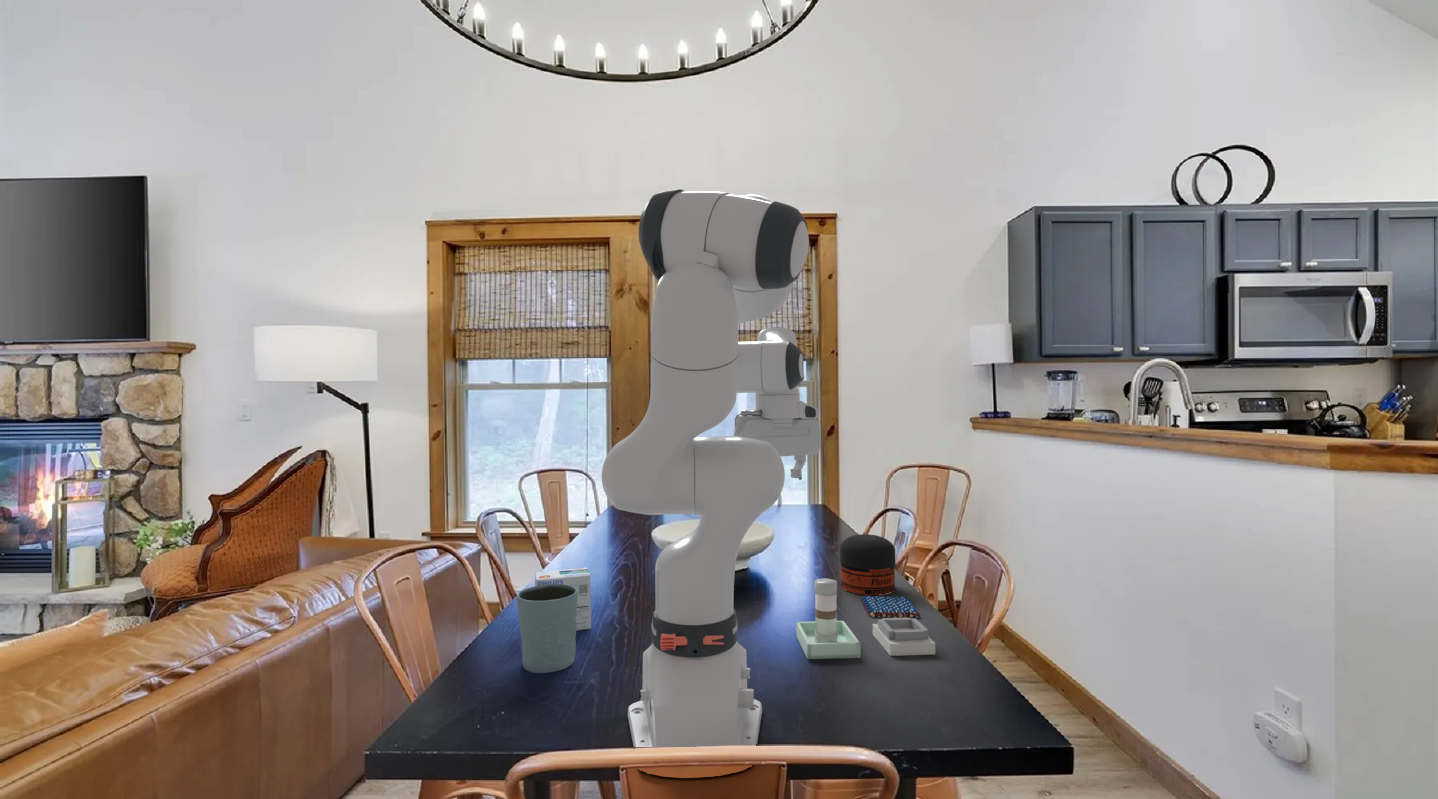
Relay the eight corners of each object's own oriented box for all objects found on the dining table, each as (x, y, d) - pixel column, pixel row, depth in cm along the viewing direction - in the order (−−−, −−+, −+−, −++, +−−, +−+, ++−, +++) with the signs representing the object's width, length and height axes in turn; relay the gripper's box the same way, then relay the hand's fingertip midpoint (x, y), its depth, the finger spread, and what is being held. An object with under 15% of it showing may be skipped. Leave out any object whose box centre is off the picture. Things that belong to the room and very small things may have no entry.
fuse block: (935, 654, 105) (935, 634, 105) (890, 655, 104) (889, 635, 104) (913, 633, 115) (913, 614, 115) (872, 634, 114) (872, 615, 114)
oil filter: (860, 577, 154) (829, 587, 145) (859, 529, 154) (828, 536, 145) (906, 588, 144) (876, 599, 135) (905, 536, 145) (875, 545, 136)
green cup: (572, 674, 98) (572, 600, 98) (509, 676, 97) (509, 601, 97) (582, 649, 108) (582, 582, 108) (524, 651, 107) (525, 583, 107)
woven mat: (921, 620, 123) (921, 610, 123) (869, 620, 124) (868, 610, 124) (908, 604, 134) (908, 595, 134) (860, 604, 134) (860, 594, 134)
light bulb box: (588, 618, 124) (588, 566, 124) (591, 629, 118) (591, 574, 118) (534, 624, 121) (534, 570, 121) (535, 636, 115) (535, 579, 115)
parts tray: (860, 657, 103) (860, 643, 104) (807, 659, 103) (807, 644, 103) (843, 633, 115) (843, 620, 115) (795, 635, 114) (795, 621, 114)
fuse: (840, 646, 107) (839, 584, 107) (817, 647, 107) (817, 584, 107) (834, 638, 111) (833, 578, 111) (813, 638, 111) (812, 578, 111)
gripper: (744, 410, 112) (745, 484, 112) (825, 409, 123) (826, 477, 123) (725, 410, 117) (726, 481, 117) (804, 410, 129) (805, 474, 128)
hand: (778, 479), depth 120 cm, fingers open, 8 cm apart
